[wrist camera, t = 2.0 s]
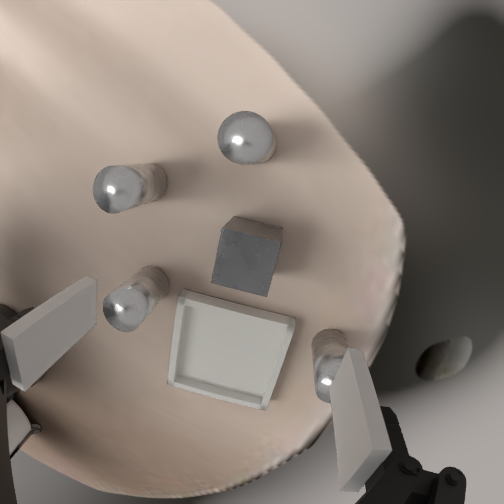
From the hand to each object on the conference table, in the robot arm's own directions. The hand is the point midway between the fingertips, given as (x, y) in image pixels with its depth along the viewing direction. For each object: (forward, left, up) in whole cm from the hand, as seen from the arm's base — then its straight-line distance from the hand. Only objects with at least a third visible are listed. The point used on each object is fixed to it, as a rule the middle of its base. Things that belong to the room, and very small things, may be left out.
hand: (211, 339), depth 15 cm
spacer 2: (-7, +10, -18) cm, 22 cm away
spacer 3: (+10, +2, -18) cm, 21 cm away
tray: (-13, 0, -18) cm, 23 cm away
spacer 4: (-9, -11, -18) cm, 23 cm away
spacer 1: (+4, +12, -18) cm, 22 cm away
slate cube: (0, 0, -19) cm, 19 cm away
